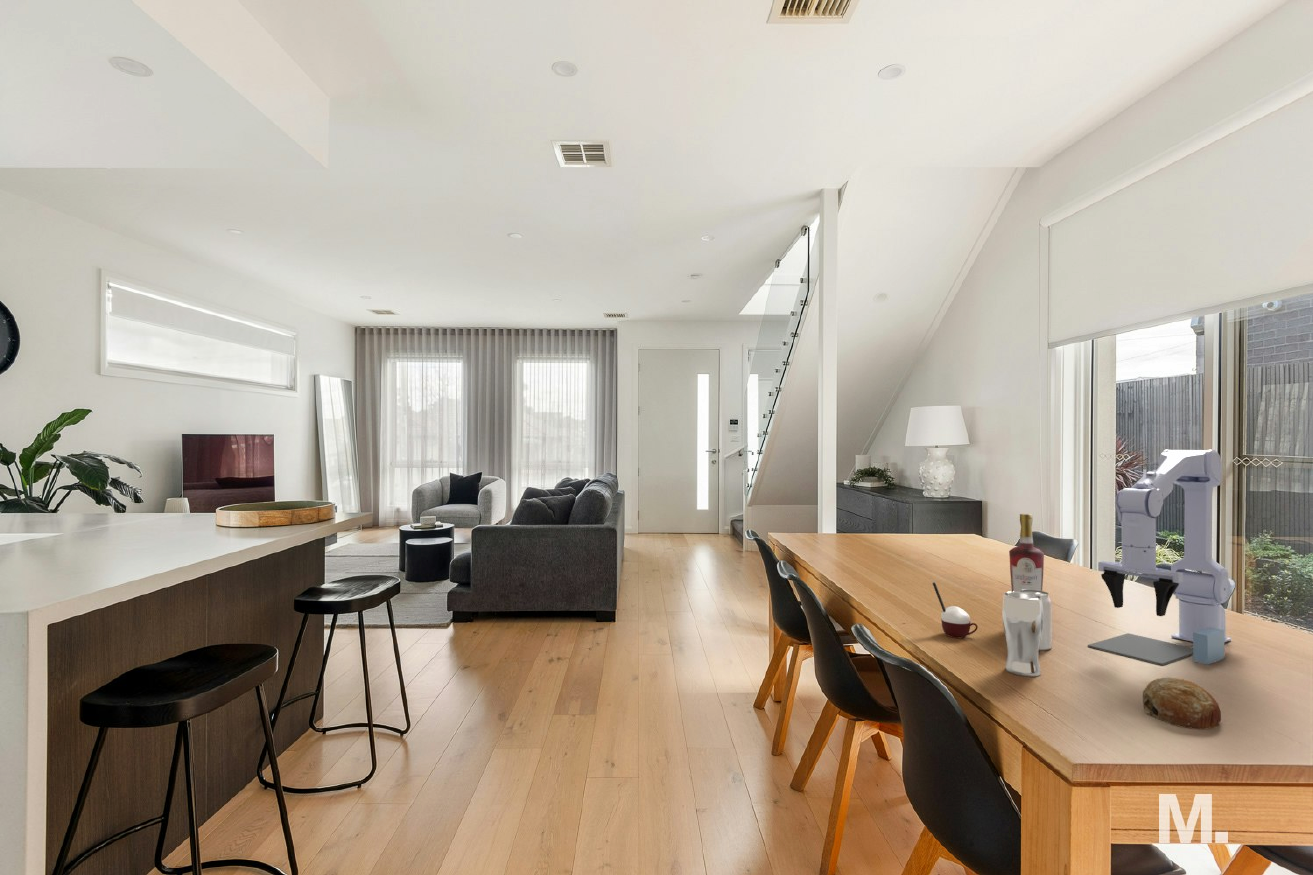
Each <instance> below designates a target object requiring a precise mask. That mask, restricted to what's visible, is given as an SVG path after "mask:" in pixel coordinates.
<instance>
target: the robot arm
mask: <svg viewBox="0 0 1313 875" xmlns="http://www.w3.org/2000/svg"><path fill="white" fill-rule="evenodd" d="M1222 480H1223V461H1222V458H1221V456H1220V454H1219V452H1217V451H1216V450H1215V449H1207V450H1206V449H1204V450H1203V449H1197V450H1196V449H1167V448H1166V449H1164V450H1163V451H1162V452H1161V453H1160V455H1159V459H1158V467H1157V469H1156V470H1155V471H1147V472H1146V473H1145V474H1144V475H1143V476H1142V477H1140V478H1139V479H1138V480H1137V482H1135V483H1134V484H1133V485H1132V486H1131V487H1129V488H1128V487H1125V488H1123V489H1121V490H1119V491H1118V492H1117V493H1116V496H1115V501H1114V506H1115V510H1116V512H1117V516H1118V517H1117V518H1118V522H1119V523H1120V524H1121V563H1120V562H1112V561H1103V560H1102V561H1098V564H1097V566H1098V569H1097V571H1098V572H1103V573H1101V574H1100V575H1101V579H1102V580H1103V582H1104V583H1105V585H1106V587H1107V589H1108V591H1109V593H1110V596H1111V598H1112V603H1113V606H1114V608H1115V609H1119V608H1123V606H1124V584H1125V579H1126V575H1128V576H1134V577H1141V578H1146V579H1147V578H1148V579H1152V580H1153V579H1154V581H1153V582H1152V584H1153V587H1154V592H1155V601H1156V602H1155V603H1156V604H1155V613H1156V616H1158V617H1164V616H1166V613H1167V608H1168V606H1169V603H1170V600H1171V598H1172V596H1173V595H1174V596H1175V599H1177V600H1178V630H1179V631H1178V632H1176V633H1173V634H1171V636H1170V637H1171V638H1172V639H1178V640H1183V641H1187V642H1191V643H1193V632H1196V631H1199V630H1202V629H1205V628H1209V627H1212V628H1217V629H1222V630H1224V644H1225V643H1227V642H1230V641H1232V638H1231V637H1227V636H1226V635H1227V633H1226V632H1227V631H1226V630H1227V628H1226V627H1227V626H1226V618H1227V617H1226V611H1225V609H1224V607H1223V606H1222V604H1224V603H1226V602H1227V601H1228V600H1229V598H1230V595H1231V583H1230V580H1229V572H1228V569H1226V567H1224V566H1223V565H1221V564H1219V563H1218V562H1217V561H1216V560H1214V558H1213V555H1212V554H1213V540H1212V539H1213V491H1214V488H1215V487H1218V486H1221V485H1222ZM1174 485H1178V486H1180V487H1181V488H1182V489H1183V490H1184V535H1183V536H1184V541H1183V543H1184V547H1183V548H1184V549H1183V550H1184V554H1183V557H1182V558H1180V559H1178V560H1176V561H1174V562H1173V563H1171V565H1170V566H1171V567H1170V569H1165V568H1159V567H1157V538H1156V537H1157V531H1156V530H1157V529H1156V527H1157V526H1156V523H1157V522H1156V521H1157V520H1156V519H1157V517H1158V516H1159V515H1160V513H1161V511H1162V507H1163V505H1164V500H1165V499H1166V498H1167V497H1168V496H1170V493H1172V491H1173V489H1174Z"/></svg>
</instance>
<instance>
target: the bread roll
mask: <svg viewBox="0 0 1313 875" xmlns="http://www.w3.org/2000/svg"><path fill="white" fill-rule="evenodd" d="M1142 705H1143V708H1144V713H1145V714H1147V715H1150V716H1151V717H1154V718H1156V719H1158V720H1161V721H1164V722H1167V723H1169V724H1171V725H1174V726H1178V727H1181V728H1188V729H1195V730H1207V729H1208V730H1209V729H1212V728H1215V727H1219V724H1220V722H1221V721H1222V711H1221V708H1220V705H1219V703H1218V701H1217V700H1216V699H1215V698H1214V696H1213V695H1212V694H1210V693H1209V691H1207V690H1206V689H1205V688H1203V687H1202V686H1200V685H1198V684H1196V683H1195V682H1192V681H1190V680H1188V679H1184V678H1177V677H1162V678H1156V679H1154V680H1152V681H1150V682H1149V683H1148V684H1147V685H1146V687H1145V688H1144V690H1143V691H1142Z"/></svg>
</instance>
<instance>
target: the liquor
mask: <svg viewBox="0 0 1313 875" xmlns="http://www.w3.org/2000/svg"><path fill="white" fill-rule="evenodd" d="M1033 518H1034V517H1033V514H1030V513H1020V514H1019V523H1020V534H1019V543H1018V544H1019V545H1018V546H1015V547H1013V548H1011V549H1009V551H1008V552H1009V554H1008V555H1009V573H1010V585H1011V592H1019V591H1020V590H1039V591H1043V584H1044V583H1043V582H1044V567H1045V566H1044V565H1045V562H1044V560H1045V553H1044V552H1043V551H1042V550H1041V549H1040V548H1037V547H1034V538H1033V528H1032V527H1033Z"/></svg>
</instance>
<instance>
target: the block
mask: <svg viewBox="0 0 1313 875" xmlns="http://www.w3.org/2000/svg"><path fill="white" fill-rule="evenodd" d="M1192 648H1193V655H1192V661H1193V662H1195V663H1200V664H1203V663H1204V665H1210V663H1211V664H1213V663H1215V661H1216V662H1218V661H1221V660H1224V659H1225V658H1226V657H1225V643H1224V630H1222V629H1217V628H1212V627H1209V628H1205V629H1202V630H1199V631H1196V632H1193V642H1192ZM1212 662H1213V663H1212Z"/></svg>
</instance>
